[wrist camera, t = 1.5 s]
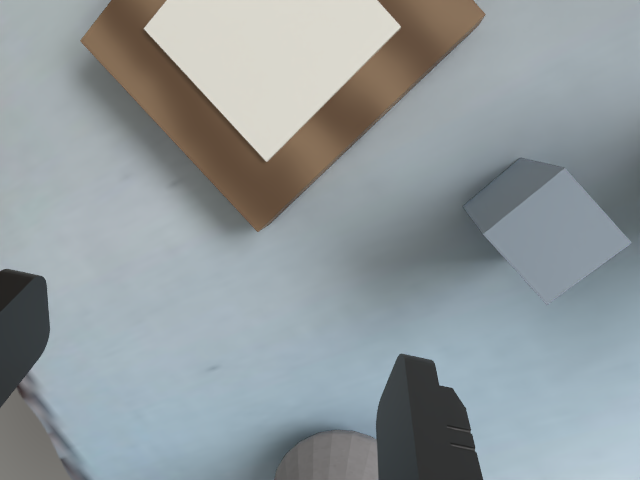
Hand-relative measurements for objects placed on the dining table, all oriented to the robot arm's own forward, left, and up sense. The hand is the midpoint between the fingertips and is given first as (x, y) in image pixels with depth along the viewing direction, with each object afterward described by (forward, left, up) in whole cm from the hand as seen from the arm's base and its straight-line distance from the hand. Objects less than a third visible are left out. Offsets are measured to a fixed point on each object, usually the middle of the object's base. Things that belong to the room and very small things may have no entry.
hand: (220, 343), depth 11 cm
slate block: (-8, +8, -26) cm, 29 cm away
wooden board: (-4, -12, -26) cm, 29 cm away
